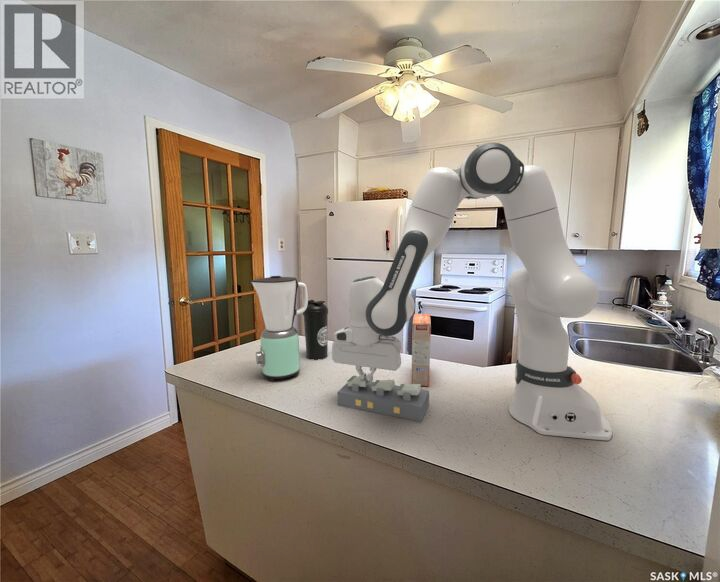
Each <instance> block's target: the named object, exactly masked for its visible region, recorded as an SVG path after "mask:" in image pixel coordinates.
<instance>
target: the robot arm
mask: <svg viewBox="0 0 720 582" xmlns="http://www.w3.org/2000/svg"><path fill="white" fill-rule="evenodd" d="M491 196H494V197H496V198H497V199H498V200H499V202H500V203H501V206H502V207H503V211H504V217H505V221H506V225H507V230H508V234H509V235H508V236H509V239H510V243H511V247H512V250H513V253H514V254H515V255H516V256H517V257H518V258H519V260H520V261H521V262H522V264H523V266H524V267H521V268H518V269H516V270H515V271H513V272H512V274H510V276H509V278H508V280H507V290H508V292H509V295H510V296H511V298H512V301H513V304H514V309H515V315H516V318H517V324H518V333H519V334H518V336H519V338H518V339H519V340H518V358H517V359H516V363H515V370H514V371H515V372H514V379H515V385H514V391H513V395H512V399H511V401H510V404H509V406H508V412H509V414H510V415H511V417H512V418H514V419H515V420H517V421H519V423H522V424H524V425H526V426H528V427H530V428H531V429H532V430H534V431H535V432H536V433H537V434H539V435H543V436H544V435H545V436H553V437H554V436H555V437H565V438H566V437H567V438H576V439H584V440H585V439H586V440H587V439H588V440H596V441H610V440H611V439H612V437H613V429H612V426H611V423H609V421H608V420H607V418H606V417H605V416H604V415H603V414H602V413H601V409H600V408H601V407H600V406H599V403H598V402H597V400H596V399H595V397H594V396H593V395H592V394H590V393H589V392H588V391H587V390H586V389H585V388H583V387H582V386H580V385H581V384H582V377H581V376H580V375H579V374H578V373H577V372H576V370H575V369H573V368H572V367H571V365H568V364H569V363H568V362H569V353H570V352H569V351H570V336H569V334H568V332H567V331H566V329H565V328H564V326H563V324H562V321H561V318H565V319H579V318H583V317H585V316H587V315H589V314H591V312H592V311H593V310H594V309H595V308H596V305H597V303H598V300H599V289H598V286H597V284H596V283H595V282H594V281H593V279H591V278H590V277H589V275H587V274H585V272H584V271H583V270H582V268H581V267H580V266H579V264H578V262H577V260H576V259H575V257H574V255H573V253H572V252H571V250H570V248H569V246H568V243H567V241H566V238H565V235H564V231H563V227H562V223H561V217H560V213H559V209H558V208H559V207H558V203H557V200H556V196H555V192H554V189H553V186H552V183H551V180H550V179H549V176H548V174H547V172H546V170H545V169H544V168H543V167H542V166H539V165H535V164H526V165H525V164H524V163H523V162H522V161H521V160H520V159H519V158H518V157H517V156H516V155H515V153H514V152H513V151H512V149H510V148H509V147H508V146H507V145H505V144H502V143H499V142H487V143H484V144H481V145H479V146H478V147H475V149H474V150H473V151H471V152H470V153H469V154H468V155H467V156H466V157H465V158H464V160H463V161H462V163H461V164H460V165H459V166H458V167H457V168H449V167H446V166H437V167H433V168H431V169H429V170H428V171H427V172H426V174H425V175H424V177H423V178H422V180H421V182H420V184H419V186H418V188H417V190H416V192H415V194H414V196H413V198H412V201H411V203H410V206H409V209H408V212H407V216H406V219H405V223H404V225H403V230H402V234H401V238H400V241H399V244H398V248H397V251H396V253H395V257H394V258H393V260H392V264H391V266H390V269H389V271H388V273H387V275H386V279H385V281H382V280H381V279H380V278H379V277H377V276H365V277H361V278H357V279H355V280H353V281H352V282H351V283H350V286H349V291H348V292H349V293H348V298H349V299H348V310H349V311H348V312H349V315H350V319H349V322H348V323H349V325H348V326H346V327H342V328H340V329H339V330H337V331H335V332H334V333H333V339H334V340H333V342H332V346H331V359H332V361H333V362H334V363H335V364H341V365H347V366H348V365H349V366H355V370H356V372H357V373H358V376H359V378H360V380H363V381H364V380H365V379H366V378H367V379H366V381H368V382H374V374H375V372H376V370H377V369H378V370H379V369H380V370H386V371H392V372H393V371H395V372H396V371H397V370H398V369H399V368H401V365H402V356H401V355H402V354H401V350H402V343H401V341H400V339H399V338H397V337H396V336H395V335H397V334H399V333H400V332H401V331H402V330H403V329H404V327H405V325H406V323H407V322H408V321H409V319H410V318H411V317H412V316H413V315H414V314H415V310H416V302H415V299H414V296H412V294H411V293H410V292H411V289H412V286H413V284H414V282H415V279H416V277H417V275H418V272H419V270H420V268H421V266H422V265H423V263H424V261H425V260H426V259H427V258H428V257H429V256H430V255H431V254H432V252H434V251H435V250H436V249H437V248H438V247H439V246H440V245H441V243H442V242H443V241H444V239H445V237H446V235H447V233H448V232H449V230H450V227H451V225H452V222H453V219H454V217H455V214H456V212H457V209H458V208H459V206H460V204H461V203H462V202H463V200H465V199H471V200H475V199H476V200H477V199H485V198H489V197H491ZM363 367H364V368H369V372H370V373H366V372H364V371H363Z"/></svg>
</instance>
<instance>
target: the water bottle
mask: <svg viewBox="0 0 720 582" xmlns="http://www.w3.org/2000/svg"><path fill="white" fill-rule="evenodd" d="M324 303H325V304H324ZM302 315H303V325H304V326H303V328H304V336H305V337H304V338H305V340H304V341H305V351H306V353H305V354H306V359H308V358H309V359H308V360H311V359H314V360H313V361H319V360H318V359H321V360H324V359H327V357H328V354H329V352H328V351H329V349H328V340H329V338H328V336H329V335H328V332H329V331H328V327H329V326H328V315H329V308H328V306H327V305H326V301H325V300H317V301H315V299H308V306H307V308H306V310H305V311H304V312H303V313H302ZM323 358H324V359H323Z"/></svg>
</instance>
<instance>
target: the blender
mask: <svg viewBox="0 0 720 582" xmlns="http://www.w3.org/2000/svg"><path fill="white" fill-rule="evenodd" d="M250 283H251V284H252V286H253V287H254V289H255V291H256V294H257V296H258V301H259V304H260V309H261V314H262V318H263V322H264V326H265V328H264V329H263V330H262V331H261V334H260V345H259V346H260V348H259V351H256V352H255V361H256V364H257V365H260V366H261V372H262V375H263V376H264V377H266V378H267V379H269V382H270V381H271V383H273V382H276V381H277V380H281V379H282V380H283V379H288V378H291V377H292V378H297V377H299V375H298V373H299V372H300V370H301V360H300V358H301V356H300V339H299V333H298V331H297V329H296V327H294V323H295V317H296V316H297V315H301V314H303V312H304V311H305V310H306V308H307V306H308V301H309V298H308V297H309V296H308V294H309V293H308V288H307V287H308V286H307V285H306V283H304V282H300V281H298V279H297V277H293V276H281V275H271V276H269V277H262V278H257V279H256V278H255V279H252V280H250ZM299 287H302V305H301V307H300V308H298V309H297V308H296V307H297V293H298V288H299Z"/></svg>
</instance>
